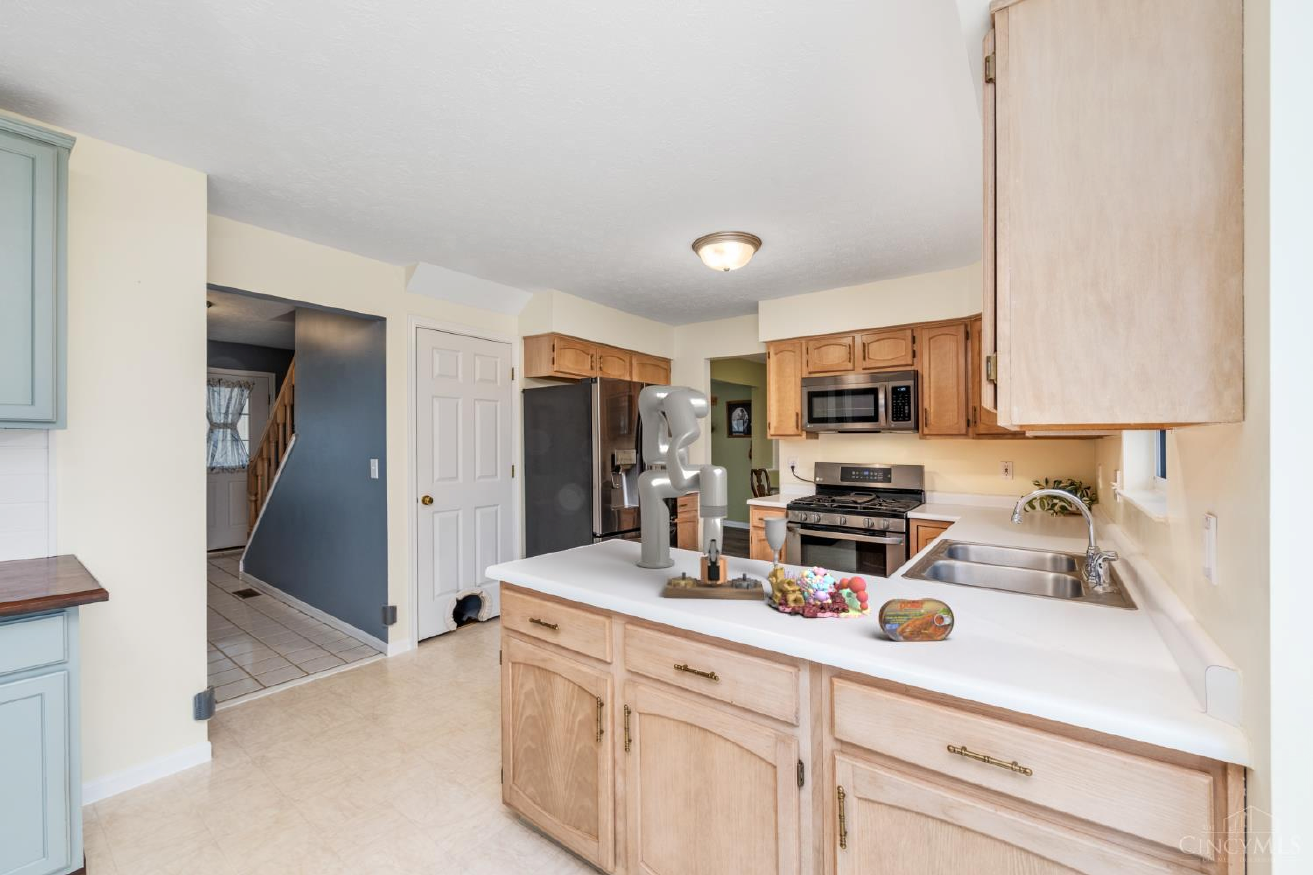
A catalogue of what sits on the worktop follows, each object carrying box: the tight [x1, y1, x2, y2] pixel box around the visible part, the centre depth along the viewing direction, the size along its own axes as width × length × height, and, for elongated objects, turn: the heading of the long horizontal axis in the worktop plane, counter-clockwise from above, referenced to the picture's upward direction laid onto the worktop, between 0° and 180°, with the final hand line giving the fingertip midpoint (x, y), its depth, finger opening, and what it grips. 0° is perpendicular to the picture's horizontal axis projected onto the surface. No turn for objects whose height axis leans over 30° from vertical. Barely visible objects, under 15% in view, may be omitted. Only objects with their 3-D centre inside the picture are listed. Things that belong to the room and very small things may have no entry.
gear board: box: [663, 572, 765, 601], centre depth 155 cm, size 12×26×5 cm, turn 83°
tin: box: [877, 597, 955, 643], centre depth 118 cm, size 15×3×8 cm, turn 91°
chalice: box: [762, 516, 789, 581], centre depth 168 cm, size 7×7×18 cm
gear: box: [699, 555, 728, 584], centre depth 155 cm, size 7×7×6 cm
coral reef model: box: [767, 565, 873, 619], centre depth 143 cm, size 25×24×9 cm
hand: (713, 576), depth 155 cm, fingers closed on gear, 7 cm apart
